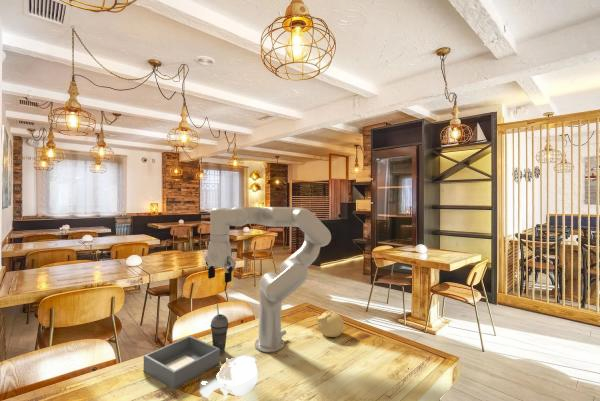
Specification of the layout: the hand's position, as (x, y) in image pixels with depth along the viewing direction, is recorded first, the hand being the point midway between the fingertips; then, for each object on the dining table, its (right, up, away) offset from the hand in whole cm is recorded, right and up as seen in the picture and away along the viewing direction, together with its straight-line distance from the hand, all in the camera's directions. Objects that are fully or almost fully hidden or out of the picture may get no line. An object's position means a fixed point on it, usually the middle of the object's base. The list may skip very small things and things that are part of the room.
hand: (219, 279), depth 131 cm
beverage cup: (-1, -30, +1) cm, 30 cm away
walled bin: (-11, -30, -11) cm, 34 cm away
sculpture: (+47, -31, +21) cm, 60 cm away
